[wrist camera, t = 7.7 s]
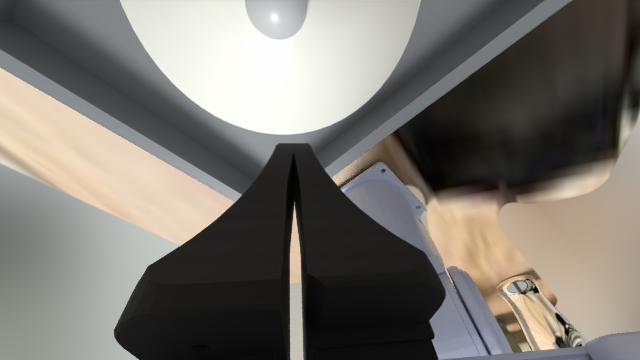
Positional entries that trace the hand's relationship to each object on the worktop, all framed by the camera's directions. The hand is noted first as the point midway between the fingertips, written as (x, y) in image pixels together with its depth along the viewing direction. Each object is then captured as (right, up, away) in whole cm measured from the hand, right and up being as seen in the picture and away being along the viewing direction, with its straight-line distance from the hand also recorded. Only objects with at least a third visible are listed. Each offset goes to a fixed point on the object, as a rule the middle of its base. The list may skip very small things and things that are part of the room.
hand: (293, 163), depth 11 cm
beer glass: (+34, -18, +32) cm, 50 cm away
